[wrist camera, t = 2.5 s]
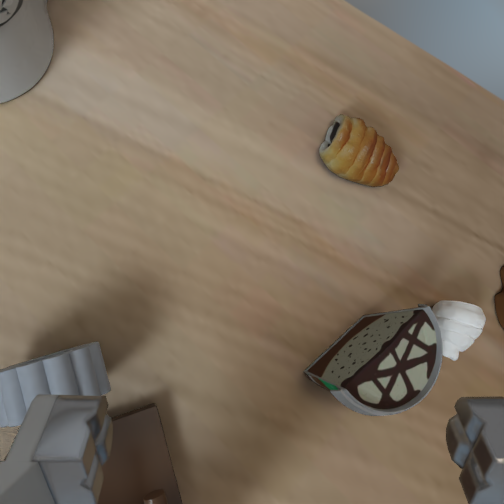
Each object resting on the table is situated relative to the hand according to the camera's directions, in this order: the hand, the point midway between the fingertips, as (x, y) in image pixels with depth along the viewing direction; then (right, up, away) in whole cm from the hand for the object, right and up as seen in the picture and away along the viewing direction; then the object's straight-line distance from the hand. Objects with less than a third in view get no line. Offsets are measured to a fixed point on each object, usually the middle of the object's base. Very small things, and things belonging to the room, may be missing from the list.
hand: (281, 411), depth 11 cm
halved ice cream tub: (+10, -8, +40) cm, 42 cm away
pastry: (+11, +15, +44) cm, 48 cm away
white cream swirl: (+21, -6, +44) cm, 49 cm away
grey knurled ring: (-18, -7, +31) cm, 36 cm away
